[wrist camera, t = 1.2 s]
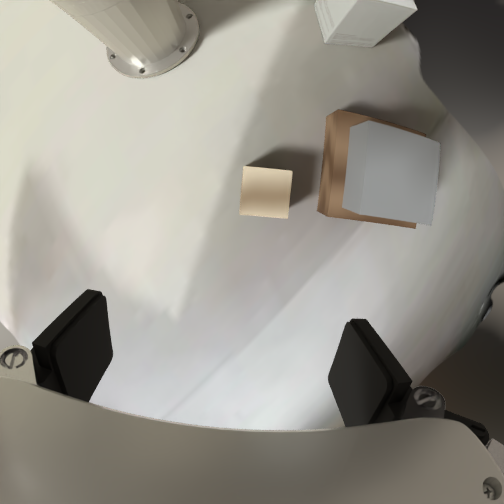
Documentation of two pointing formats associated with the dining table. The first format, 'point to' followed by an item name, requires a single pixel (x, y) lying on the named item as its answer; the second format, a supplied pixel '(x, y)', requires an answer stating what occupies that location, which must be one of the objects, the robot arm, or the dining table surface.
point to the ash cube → (265, 192)
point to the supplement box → (360, 20)
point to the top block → (391, 173)
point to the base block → (337, 165)
